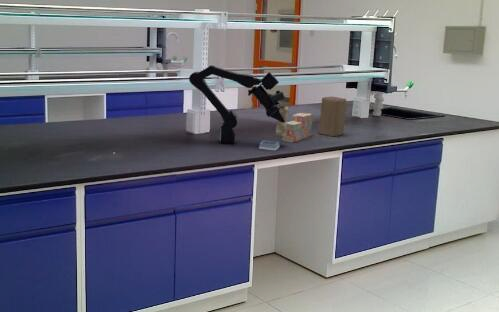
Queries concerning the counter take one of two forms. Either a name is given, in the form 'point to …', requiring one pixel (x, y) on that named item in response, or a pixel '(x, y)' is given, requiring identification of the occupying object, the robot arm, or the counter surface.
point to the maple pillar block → (281, 126)
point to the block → (332, 116)
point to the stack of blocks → (298, 127)
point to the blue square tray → (269, 145)
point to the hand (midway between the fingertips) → (284, 121)
